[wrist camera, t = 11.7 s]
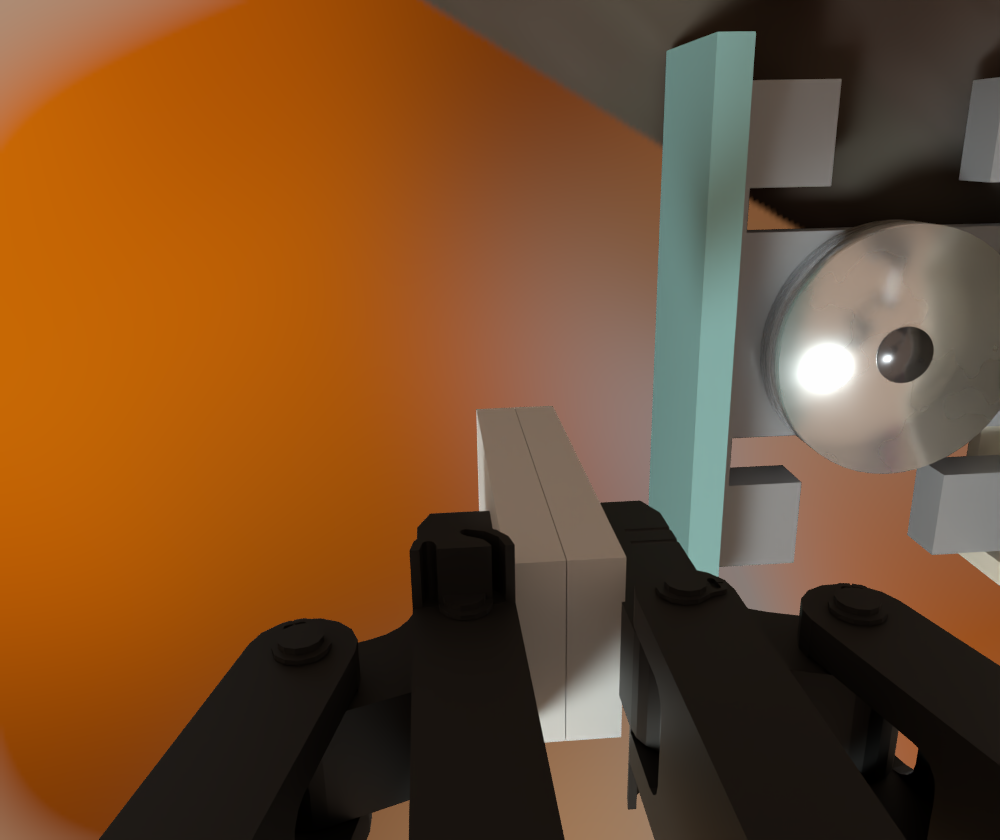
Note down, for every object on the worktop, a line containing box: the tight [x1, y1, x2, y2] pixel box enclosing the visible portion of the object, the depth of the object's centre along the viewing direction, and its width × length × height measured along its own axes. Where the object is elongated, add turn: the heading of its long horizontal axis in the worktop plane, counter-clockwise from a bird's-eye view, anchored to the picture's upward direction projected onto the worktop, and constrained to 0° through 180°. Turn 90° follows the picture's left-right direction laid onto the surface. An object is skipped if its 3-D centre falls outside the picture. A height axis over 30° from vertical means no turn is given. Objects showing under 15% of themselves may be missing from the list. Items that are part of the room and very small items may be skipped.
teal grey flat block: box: [649, 31, 1000, 577], centre depth 27 cm, size 13×18×5 cm
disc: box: [760, 219, 1000, 474], centre depth 27 cm, size 8×8×2 cm
